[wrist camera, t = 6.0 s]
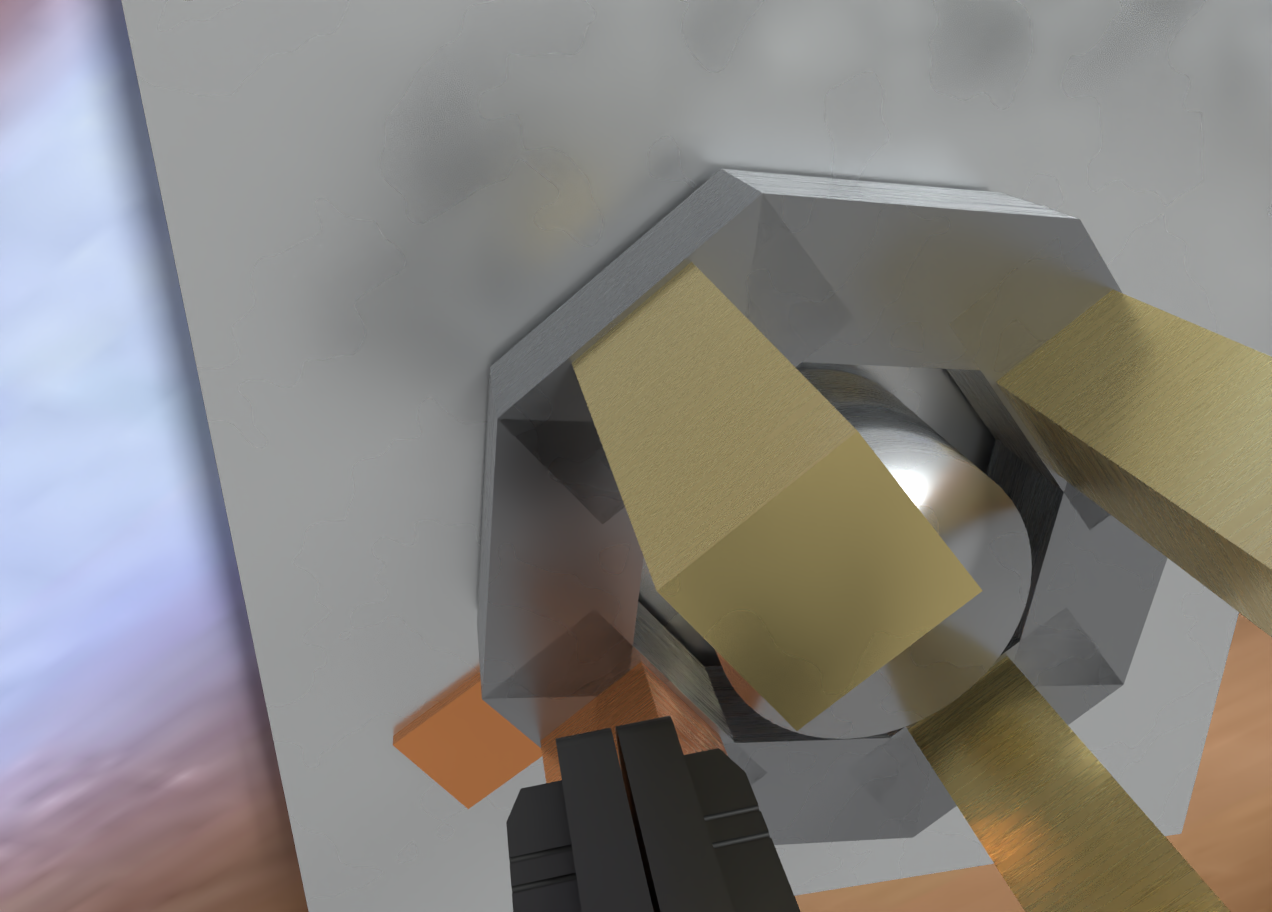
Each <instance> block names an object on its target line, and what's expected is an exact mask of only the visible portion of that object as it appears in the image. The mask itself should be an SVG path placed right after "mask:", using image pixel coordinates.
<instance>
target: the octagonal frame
mask: <svg viewBox="0 0 1272 912" xmlns="http://www.w3.org/2000/svg"><path fill="white" fill-rule="evenodd" d="M801 362H808V363H830V364H851V365H873V366H894V367H916V368H938V369H947V371H948V372H949V373H950V375H951V376H952V378H953V379H954V381H955V382H956V383H957V385H958V386H959V388H960V389H961V391H962V392H963V393H964V395H965V396H966V398H967V399H968V401H969V402H970V403H971V405H972V406H973V408H974V409H975V410H976V412H977V413H978V415H979V416H980V418H981V419H982V420H983V422H984V423H985V425H986V426H987V428H988V429H989V430H990V432H991V433H992V435H993V436H994V437H995V439H996V440H995V444H994V447H993V451H992V455H991V459H990V463H989V467H988V471H987V474H986V475H987V476H988V477H989V478H991V479H992V480H993V481H994V482H995V483H996V484H998V485H999V486H1000V487H1001V488H1002V489H1003V491H1004V492H1005V493H1006V494H1007V495H1008V497H1009V498H1010V499H1011V500H1012V502H1013V503H1014V505H1015V507H1016V508H1017V510H1018V512H1019V513H1020V515H1021V517H1022V520H1023V523H1024V525H1025V528H1026V530H1027V533H1028V538H1029V543H1030V548H1031V560H1032V572H1031V583H1030V589H1029V594H1028V598H1027V602H1026V606H1025V608H1024V611H1023V614H1022V617H1021V619H1020V622H1019V624H1018V626H1017V628H1016V630H1015V632H1014V634H1013V636H1012V638H1011V640H1010V641H1009V643H1008V644H1007V646H1006V647H1005V649H1004V650H1003V652H1002V654H1001V655H1000V657H999V658H998V659H997V660H996V661H995V663H994V664H993V665H992V666H991V667H990V669H989V670H988V671H987V672H986V673H985V674H984V675H983V676H982V677H981V678H980V679H979V680H978V681H977V682H976V683H975V684H974V685H973V686H972V687H971V688H970V689H968V690H967V691H966V692H965V693H963V694H962V695H961V696H960V697H959V698H957V699H956V700H954V701H953V702H951V703H950V704H948V705H947V706H945V707H944V708H942V709H941V710H939V711H937V712H936V713H934V714H932V715H930V716H928V717H926V718H924V719H922V720H920V721H918V722H915V723H913V724H911V725H908V726H906V727H903V728H900V729H897V730H894V731H890V732H887V733H884V734H878V735H873V736H868V737H861V738H849V739H834V738H821V737H814V736H807V735H804V734H800V733H797V732H793V731H790V730H788V729H785V728H783V727H781V726H778V725H776V724H774V723H772V722H771V721H769V720H767V719H766V718H764V717H762V716H761V715H759V714H758V713H757V712H756V711H754V710H753V709H752V708H751V707H750V706H749V705H747V704H746V703H745V702H744V700H743V699H742V698H741V697H740V696H739V695H738V693H737V692H736V691H735V690H734V688H733V687H732V685H731V683H730V682H729V680H728V678H727V677H726V675H725V672H724V670H723V668H722V666H704V665H703V664H702V663H701V662H700V661H699V660H698V659H697V658H696V657H695V656H693V655H692V654H691V653H690V652H689V651H688V650H687V649H686V648H685V647H684V646H683V645H682V644H681V643H680V642H679V641H678V640H677V639H676V638H675V637H674V636H673V635H672V634H671V633H670V632H669V631H668V630H667V629H666V628H665V627H664V626H663V625H662V624H661V623H660V622H659V621H658V620H657V619H656V618H655V617H654V616H653V615H652V614H651V613H650V612H649V611H648V610H647V609H646V608H645V607H644V606H643V605H642V604H641V603H639V602H638V599H639V591H640V582H641V574H642V566H643V558H644V559H645V561H646V564H647V567H648V569H649V572H650V575H651V577H652V580H653V583H654V585H655V588H656V591H657V592H658V593H659V594H660V595H661V596H662V597H663V598H664V599H665V600H666V601H667V602H668V603H669V604H670V605H671V606H672V607H673V608H674V609H675V610H676V611H677V612H678V613H679V614H680V615H681V616H682V617H683V618H684V619H685V620H686V621H687V622H688V623H689V624H690V625H691V626H692V627H693V628H694V629H695V630H696V631H697V632H698V633H699V634H700V635H701V636H702V637H703V638H704V639H705V640H706V641H707V642H708V643H709V644H710V645H711V646H712V647H713V648H714V649H715V650H716V651H717V652H718V653H719V654H720V655H721V656H722V657H723V658H724V659H725V660H726V661H727V662H728V663H729V664H730V665H731V666H732V667H733V668H734V669H735V670H736V671H737V672H738V673H739V674H740V675H741V676H742V677H743V678H744V679H745V680H746V681H747V682H748V683H749V684H750V685H751V686H752V687H753V688H754V689H755V690H756V691H757V692H758V693H759V694H760V695H761V696H762V697H763V698H764V699H765V700H766V701H767V702H768V703H769V704H770V705H771V706H772V707H773V708H774V709H775V710H776V711H777V712H778V713H779V714H780V715H781V716H782V717H783V718H784V719H785V720H786V721H787V722H788V723H789V724H790V725H791V726H792V727H793V728H794V729H795V730H796V731H798V730H799V729H801V728H802V727H803V726H805V725H806V724H807V723H809V722H810V721H811V720H813V719H814V718H815V717H817V716H818V715H819V714H821V713H822V712H823V711H825V710H826V709H827V708H829V707H830V706H831V705H833V704H834V703H835V702H836V701H838V700H839V699H840V698H842V697H843V696H844V695H846V694H847V693H848V692H850V691H851V690H852V689H854V688H855V687H856V686H858V685H859V684H860V683H862V682H863V681H864V680H866V679H867V678H868V677H869V676H871V675H872V674H873V673H875V672H876V671H877V670H879V669H880V668H881V667H883V666H884V665H885V664H887V663H888V662H889V661H891V660H892V659H893V658H895V657H896V656H897V655H899V654H900V653H901V652H903V651H904V650H905V649H906V648H908V647H909V646H910V645H912V644H913V643H914V642H916V641H917V640H918V639H920V638H921V637H922V636H924V635H925V634H926V633H928V632H929V631H930V630H932V629H933V628H934V627H936V626H937V625H938V624H940V623H941V622H942V621H943V620H945V619H946V618H947V617H949V616H950V615H951V614H953V613H954V612H955V611H957V610H958V609H959V608H961V607H962V606H963V605H965V604H966V603H967V602H969V601H970V600H971V599H973V598H974V597H975V596H976V595H978V594H979V593H980V592H982V591H983V590H982V589H981V588H980V587H979V585H978V584H977V583H976V582H975V580H974V579H973V578H972V576H971V575H970V574H969V573H968V571H967V570H966V569H965V567H964V566H963V565H962V564H961V562H960V561H959V560H958V559H957V557H956V556H955V555H954V553H953V552H952V551H951V550H950V548H949V547H948V546H947V544H946V543H945V542H944V541H943V539H942V538H941V537H940V536H939V534H938V533H937V532H936V530H935V529H934V528H933V527H932V525H931V524H930V523H929V521H928V520H927V519H926V518H925V516H924V515H923V514H922V513H921V511H920V510H919V509H918V507H917V506H916V505H915V504H914V502H913V501H912V500H911V498H910V497H909V496H908V495H907V493H906V492H905V491H904V490H903V488H902V487H901V486H900V484H899V483H898V482H897V481H896V479H895V478H894V477H893V475H892V474H891V473H890V472H889V470H888V469H887V468H886V467H885V465H884V464H883V463H882V461H881V460H880V459H879V458H878V456H877V455H876V454H875V452H874V451H873V450H872V449H871V447H870V446H869V445H868V444H867V442H866V441H865V440H864V438H863V437H862V436H861V435H860V433H859V432H858V431H857V430H856V429H855V428H854V427H853V426H852V425H851V424H850V423H849V422H848V421H847V420H846V419H845V418H844V417H843V415H842V414H841V413H840V412H839V411H838V410H837V409H836V408H835V407H834V406H833V405H832V404H831V403H830V402H829V401H828V400H827V399H826V398H825V397H824V396H823V395H822V394H821V393H820V392H819V391H818V390H817V389H816V388H815V387H814V386H813V385H812V384H811V383H810V382H809V381H808V380H807V379H806V378H805V377H804V376H803V375H802V374H801V373H800V372H799V371H798V370H797V369H796V368H795V367H796V366H798V365H799V364H800V363H801ZM1167 558H1168V559H1170V560H1171V561H1172V562H1174V563H1175V564H1176V565H1178V566H1179V567H1180V568H1182V569H1183V570H1184V571H1185V572H1187V573H1188V574H1189V575H1191V576H1192V577H1193V578H1195V579H1196V580H1197V581H1199V582H1200V583H1201V584H1203V585H1204V586H1205V587H1206V588H1208V589H1209V590H1210V591H1212V592H1213V593H1214V594H1216V595H1217V596H1218V597H1220V598H1221V599H1222V600H1224V601H1225V602H1226V603H1228V604H1229V605H1230V606H1231V607H1233V608H1234V609H1235V610H1237V611H1238V612H1239V613H1241V614H1242V615H1243V616H1245V617H1246V618H1247V619H1249V620H1250V621H1251V622H1253V623H1254V624H1255V625H1256V626H1258V627H1259V628H1260V629H1262V630H1263V631H1264V632H1266V633H1267V634H1268V635H1270V636H1271V637H1272V357H1271V356H1269V355H1266V354H1264V353H1262V352H1259V351H1257V350H1255V349H1252V348H1250V347H1248V346H1245V345H1243V344H1240V343H1238V342H1236V341H1233V340H1231V339H1229V338H1226V337H1224V336H1222V335H1219V334H1217V333H1215V332H1212V331H1210V330H1207V329H1205V328H1203V327H1200V326H1198V325H1196V324H1193V323H1191V322H1189V321H1186V320H1184V319H1182V318H1179V317H1177V316H1175V315H1172V314H1170V313H1167V312H1165V311H1163V310H1160V309H1158V308H1156V307H1153V306H1151V305H1149V304H1146V303H1144V302H1142V301H1139V300H1137V299H1135V298H1132V297H1130V296H1127V295H1125V294H1123V293H1122V291H1121V290H1120V288H1119V286H1118V284H1117V283H1116V281H1115V279H1114V277H1113V276H1112V274H1111V272H1110V271H1109V269H1108V267H1107V265H1106V264H1105V262H1104V260H1103V258H1102V257H1101V255H1100V253H1099V251H1098V250H1097V248H1096V246H1095V244H1094V243H1093V241H1092V239H1091V238H1090V236H1089V234H1088V232H1087V231H1086V229H1085V227H1084V225H1083V224H1082V222H1081V220H1080V219H1079V218H1076V217H1073V216H1070V215H1067V214H1064V213H1061V212H1058V211H1055V210H1052V209H1049V208H1046V207H1043V206H1040V205H1037V204H1034V203H1031V202H1028V201H1026V200H1023V199H1020V198H1017V197H1014V196H1011V195H1008V194H1005V193H999V192H987V191H976V190H964V189H952V188H941V187H929V186H917V185H905V184H894V183H882V182H870V181H858V180H847V179H835V178H823V177H811V176H800V175H788V174H776V173H764V172H753V171H741V170H729V169H720V170H719V171H717V172H716V173H715V174H714V175H713V176H712V177H710V178H709V179H708V180H707V181H706V182H705V183H703V184H702V185H701V186H700V187H699V188H698V189H696V190H695V191H694V192H693V193H692V194H691V195H689V196H688V197H687V198H686V199H685V200H684V201H682V202H681V203H680V204H679V205H678V206H677V207H675V208H674V209H673V210H672V211H671V212H670V213H668V214H667V215H666V216H665V217H664V218H663V219H662V220H660V221H659V222H658V223H657V224H656V225H655V226H653V227H652V228H651V229H650V230H649V231H648V232H646V233H645V234H644V235H643V236H642V237H641V238H639V239H638V240H637V241H636V242H635V243H634V244H632V245H631V246H630V247H629V248H628V249H627V250H625V251H624V252H623V253H622V254H621V255H620V256H618V257H617V258H616V259H615V260H614V261H613V262H611V263H610V264H609V265H608V266H607V267H606V268H604V269H603V270H602V271H601V272H600V273H599V274H597V275H596V276H595V277H594V278H593V279H592V280H591V281H589V282H588V283H587V284H586V285H585V286H584V287H582V288H581V289H580V290H579V291H578V292H577V293H575V294H574V295H573V296H572V297H571V298H570V299H568V300H567V301H566V302H565V303H564V304H563V305H561V306H560V307H559V308H558V309H557V310H556V311H554V312H553V313H552V314H551V315H550V316H549V317H547V318H546V319H545V320H544V321H543V322H542V323H540V324H539V325H538V326H537V327H536V328H535V329H533V330H532V331H531V332H530V333H529V334H528V335H526V336H525V337H524V338H523V339H522V340H521V341H519V342H518V343H517V344H516V345H515V346H514V347H513V348H511V349H510V350H509V351H508V352H507V353H506V354H504V355H503V356H502V357H501V358H500V359H499V360H497V361H496V362H495V363H494V364H493V365H492V366H490V375H489V395H488V415H487V434H486V454H485V474H484V493H483V513H482V533H481V553H480V572H479V592H478V612H477V632H478V647H479V663H480V678H481V694H482V700H484V701H485V702H486V703H487V704H488V705H490V706H491V707H492V708H493V709H494V710H496V711H497V712H498V713H499V714H500V715H502V716H503V717H504V718H505V719H506V720H508V721H509V722H510V723H511V724H512V725H514V726H515V727H516V728H517V729H518V730H520V731H521V732H522V733H523V734H524V735H526V736H527V737H528V738H529V739H530V740H532V741H533V742H534V743H535V744H536V745H538V746H539V747H540V748H541V750H542V757H543V764H544V771H545V778H546V783H550V782H555V781H560V780H562V779H561V772H560V765H559V759H558V752H557V746H556V738H561V737H566V736H571V735H576V734H581V733H586V732H591V731H596V730H601V729H606V728H611V730H612V734H613V738H614V742H615V747H616V751H617V755H618V760H619V754H618V747H617V740H616V732H615V726H620V725H625V724H630V723H635V722H640V721H645V720H650V719H655V718H660V717H665V716H671V718H672V720H673V723H674V726H675V729H676V732H677V736H678V739H679V742H680V745H681V748H682V751H683V754H684V755H686V754H691V753H696V752H701V751H706V750H711V749H716V748H719V749H721V750H722V751H723V752H724V753H725V754H726V755H727V756H728V757H729V758H730V759H731V760H733V761H734V762H735V763H736V764H737V765H738V766H739V767H740V768H741V769H742V770H744V771H745V772H746V774H747V777H748V780H749V782H750V785H751V787H752V790H753V792H754V795H755V797H756V800H757V802H758V806H759V810H760V811H761V813H762V815H763V818H764V820H765V823H766V825H767V828H768V830H769V835H770V838H772V841H773V843H774V845H785V844H804V843H822V842H841V841H859V840H878V839H896V838H913V837H915V836H916V835H917V834H919V833H920V832H922V831H923V830H924V829H926V828H927V827H928V826H930V825H931V824H933V823H934V822H935V821H937V820H938V819H939V818H941V817H942V816H944V815H945V814H946V813H948V812H949V811H950V810H952V809H953V808H955V807H956V806H957V807H958V808H959V810H960V811H961V813H962V814H963V816H964V818H965V819H966V821H967V822H968V824H969V825H970V827H971V828H972V830H973V831H974V833H975V835H976V836H977V838H978V839H979V841H980V842H981V844H982V845H983V847H984V848H985V850H986V852H987V853H988V855H989V856H990V858H991V859H992V861H993V862H994V864H995V865H996V867H997V869H998V870H999V872H1000V873H1001V875H1002V876H1003V878H1004V879H1005V881H1006V882H1007V884H1008V886H1009V887H1010V889H1011V890H1012V892H1013V893H1014V895H1015V896H1016V898H1017V899H1018V901H1019V903H1020V904H1021V906H1022V907H1023V909H1024V910H1025V912H1230V911H1229V909H1228V908H1227V907H1226V906H1225V905H1224V904H1223V903H1222V901H1221V900H1220V899H1219V898H1218V897H1217V896H1216V895H1215V893H1214V892H1213V891H1212V890H1211V889H1210V888H1209V886H1208V885H1207V884H1206V883H1205V882H1204V881H1203V880H1202V878H1201V877H1200V876H1199V875H1198V874H1197V873H1196V872H1195V870H1194V869H1193V868H1192V867H1191V866H1190V865H1189V864H1188V862H1187V861H1186V860H1185V859H1184V858H1183V857H1182V856H1181V854H1180V853H1179V852H1178V851H1177V850H1176V849H1175V848H1174V846H1173V845H1172V844H1171V843H1170V842H1169V841H1168V839H1167V838H1166V837H1165V836H1164V835H1163V834H1162V833H1161V831H1160V830H1159V829H1158V828H1157V827H1156V826H1155V825H1154V823H1153V822H1152V821H1151V820H1150V819H1149V818H1148V817H1147V815H1146V814H1145V813H1144V812H1143V811H1142V810H1141V809H1140V807H1139V806H1138V805H1137V804H1136V803H1135V802H1134V801H1133V799H1132V798H1131V797H1130V796H1129V795H1128V794H1127V793H1126V791H1125V790H1124V789H1123V788H1122V787H1121V786H1120V784H1119V783H1118V782H1117V781H1116V780H1115V779H1114V778H1113V776H1112V775H1111V774H1110V773H1109V772H1108V771H1107V770H1106V768H1105V767H1104V766H1103V765H1102V764H1101V763H1100V762H1099V760H1098V759H1097V758H1096V757H1095V756H1094V755H1093V754H1092V752H1091V751H1090V750H1089V749H1088V748H1087V747H1086V746H1085V744H1084V743H1083V742H1082V741H1081V740H1080V739H1079V738H1078V736H1077V735H1076V734H1075V733H1074V732H1073V731H1072V729H1071V728H1070V727H1069V726H1068V725H1069V724H1070V723H1072V722H1073V721H1074V720H1076V719H1077V718H1079V717H1080V716H1081V715H1083V714H1084V713H1085V712H1087V711H1088V710H1090V709H1091V708H1092V707H1094V706H1095V705H1096V704H1098V703H1099V702H1101V701H1102V700H1103V699H1105V698H1106V697H1107V696H1109V695H1110V694H1112V693H1113V692H1114V691H1116V690H1117V689H1118V688H1120V687H1121V686H1123V685H1124V682H1125V679H1126V676H1127V673H1128V671H1129V668H1130V665H1131V662H1132V659H1133V656H1134V653H1135V650H1136V647H1137V645H1138V642H1139V639H1140V636H1141V633H1142V630H1143V627H1144V624H1145V621H1146V619H1147V616H1148V613H1149V610H1150V607H1151V604H1152V601H1153V598H1154V595H1155V593H1156V590H1157V587H1158V584H1159V581H1160V578H1161V575H1162V572H1163V569H1164V567H1165V564H1166V561H1167ZM619 764H620V761H619Z"/></svg>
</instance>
